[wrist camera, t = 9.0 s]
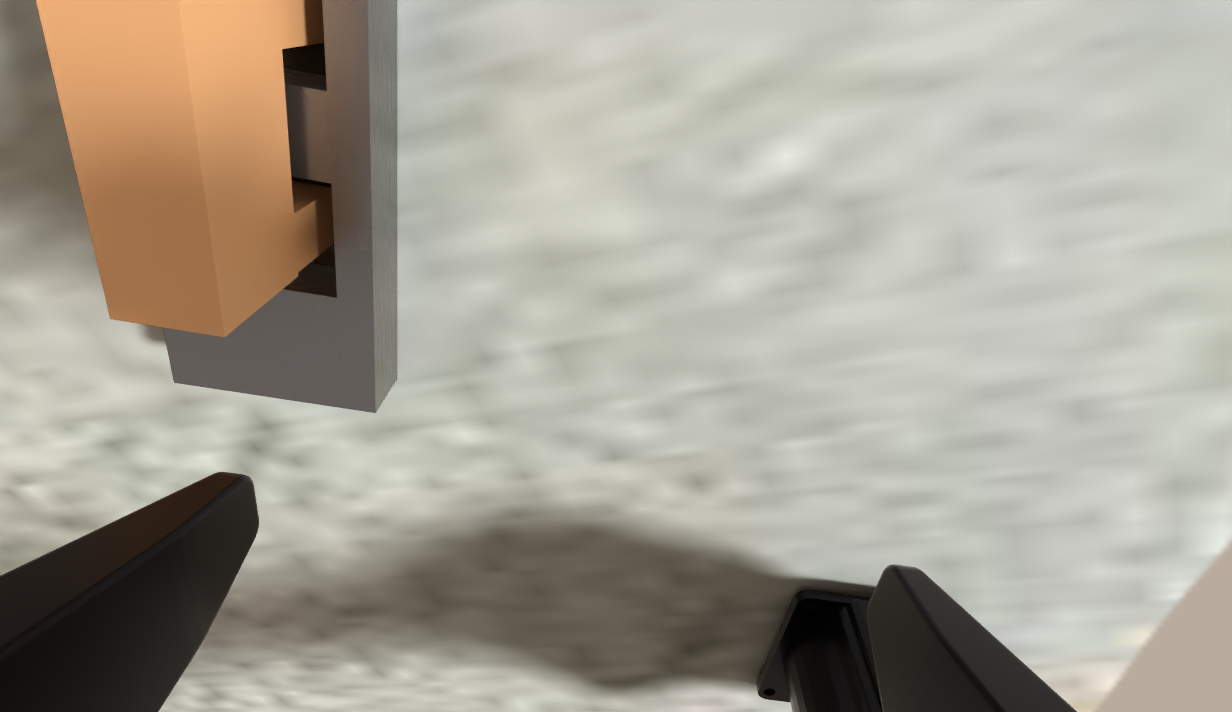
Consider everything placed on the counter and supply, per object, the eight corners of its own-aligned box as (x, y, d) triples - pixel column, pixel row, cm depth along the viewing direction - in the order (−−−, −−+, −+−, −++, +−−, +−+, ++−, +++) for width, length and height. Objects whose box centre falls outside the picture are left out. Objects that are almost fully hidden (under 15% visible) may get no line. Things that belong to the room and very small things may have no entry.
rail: (396, 378, 21) (375, 413, 20) (212, 350, 21) (174, 382, 19) (396, -257, 14) (361, -294, 12) (105, -318, 13) (25, -365, 12)
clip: (336, 244, 19) (224, 337, 14) (254, 229, 19) (110, 319, 14) (325, -34, 16) (171, -50, 11) (225, -54, 16) (16, -80, 10)
